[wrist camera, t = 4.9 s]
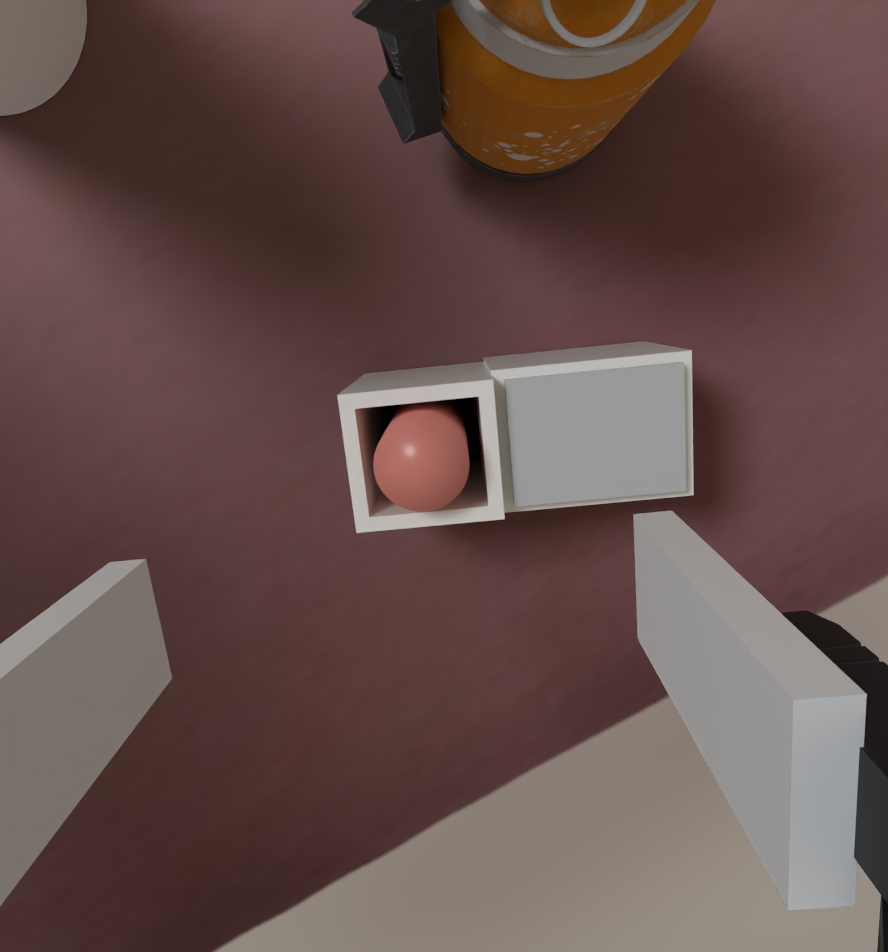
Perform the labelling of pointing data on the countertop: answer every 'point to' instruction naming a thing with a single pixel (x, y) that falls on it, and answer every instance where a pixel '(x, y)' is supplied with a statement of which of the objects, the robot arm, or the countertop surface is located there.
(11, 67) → the cylinder container
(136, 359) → the countertop surface
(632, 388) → the white rectangular box
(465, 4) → the canister
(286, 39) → the countertop surface
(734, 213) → the countertop surface
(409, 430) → the salmon pink capsule
